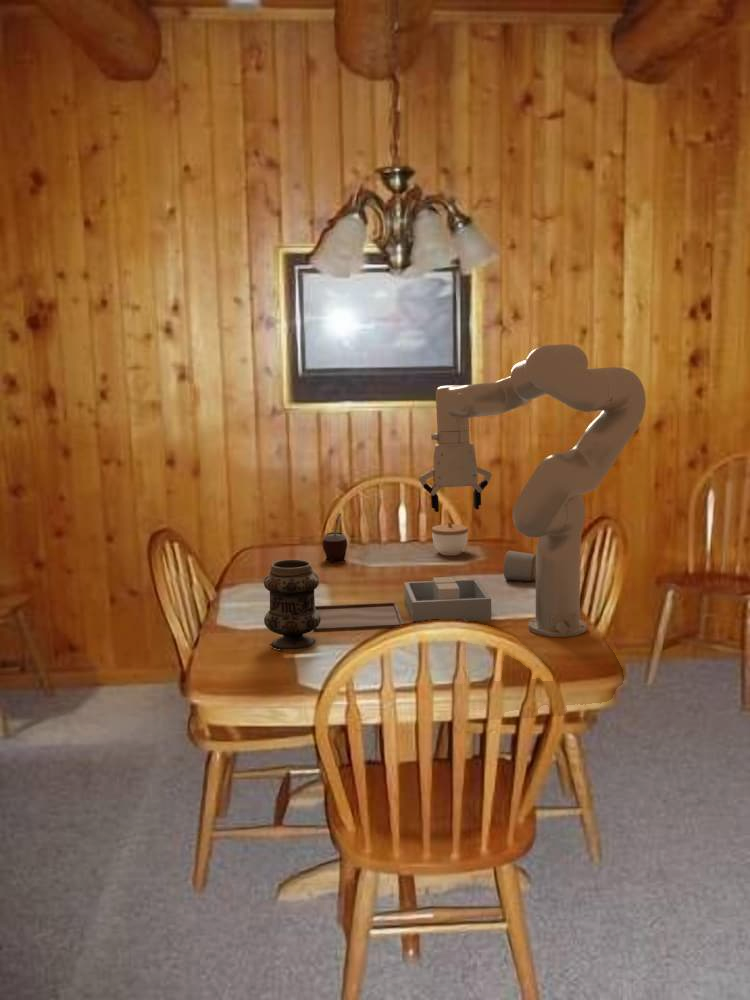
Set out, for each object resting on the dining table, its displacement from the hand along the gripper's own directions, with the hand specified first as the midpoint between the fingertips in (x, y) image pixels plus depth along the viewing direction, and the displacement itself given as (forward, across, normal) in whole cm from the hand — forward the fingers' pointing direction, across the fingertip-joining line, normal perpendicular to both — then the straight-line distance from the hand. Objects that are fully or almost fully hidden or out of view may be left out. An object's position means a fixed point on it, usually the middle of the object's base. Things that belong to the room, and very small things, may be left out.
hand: (456, 509), depth 232 cm
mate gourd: (+21, -27, +51) cm, 62 cm away
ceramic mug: (+24, +20, +22) cm, 38 cm away
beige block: (+23, -4, -7) cm, 24 cm away
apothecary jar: (+23, -40, -24) cm, 52 cm away
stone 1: (+22, -4, -1) cm, 23 cm away
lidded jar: (+22, +7, +55) cm, 60 cm away
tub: (+23, -4, -4) cm, 24 cm away
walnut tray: (+23, -26, -8) cm, 35 cm away
